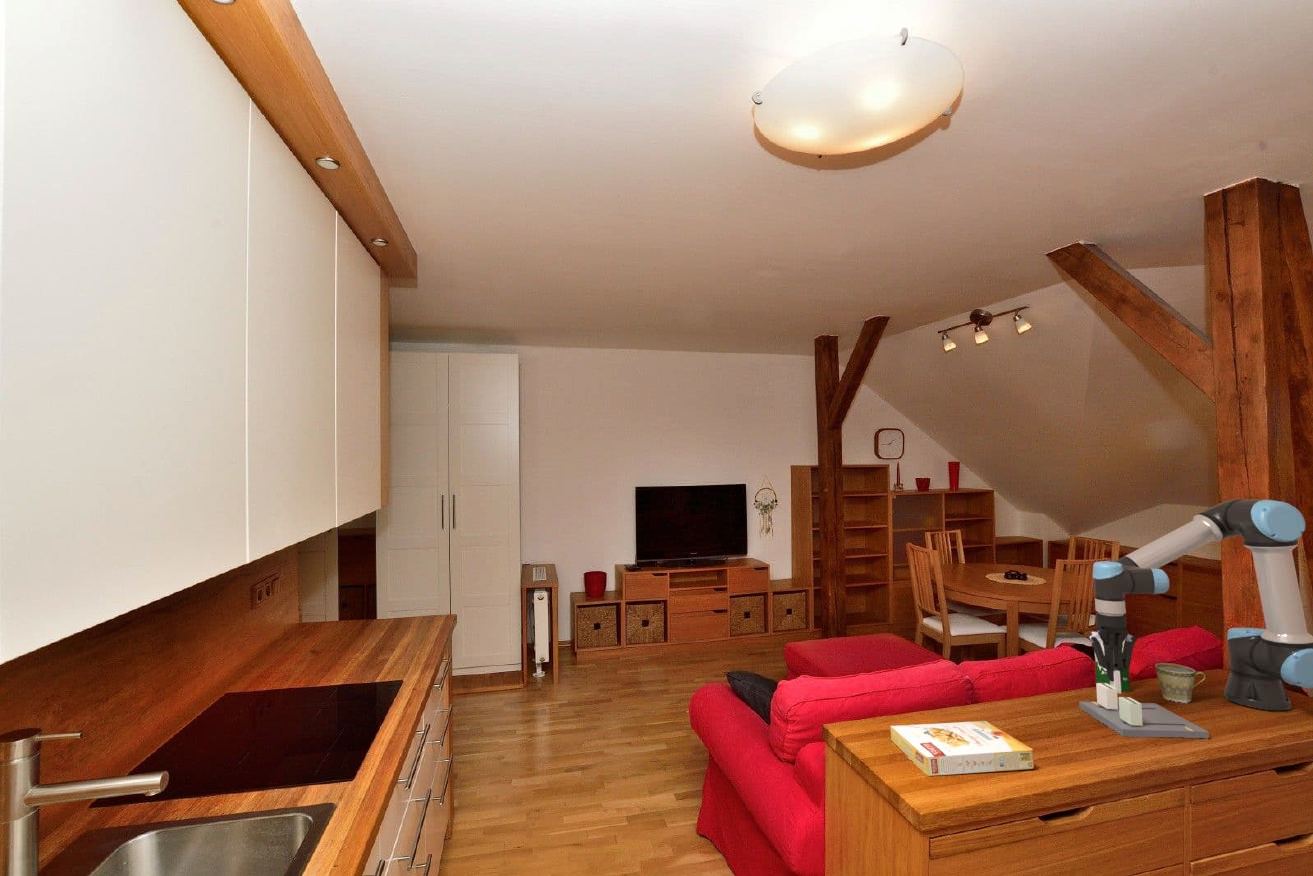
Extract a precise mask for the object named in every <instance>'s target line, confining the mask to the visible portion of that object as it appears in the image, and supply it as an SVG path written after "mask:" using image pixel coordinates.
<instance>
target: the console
mask: <svg viewBox="0 0 1313 876" xmlns="http://www.w3.org/2000/svg"><path fill="white" fill-rule="evenodd" d="M1140 703H1141V707H1142V724H1143V726H1138V725H1130V724H1128V723H1127V722H1125V721H1123V720H1122V719H1120V714H1119V701H1118V709H1106V708H1105V707H1103V706H1102V705H1100V704H1098V703H1097V701H1081V700H1080V701H1078V704H1079V706H1078V707H1079V709H1080V708H1081V710H1082V711H1083V710H1084V712H1085V713H1086V712H1087V713H1086V714H1088V715H1089V714H1090V716H1091V717H1092V718H1094V719H1096V720H1097V721H1098V720H1099V721H1098V722H1100V723H1101V724H1103V723H1104V724H1105V726H1106V725H1107V726H1108V727H1107V726H1106V727H1107V728H1109V729H1110V728H1111V730H1112V731H1113V730H1114V731H1113V732H1115V733H1116V732H1117V733H1116V734H1118V735H1119V734H1120V735H1119V736H1121V737H1125V738H1127V737H1129V738H1150V737H1185V738H1209V739H1210V734H1209V733H1210V732H1209V731H1208V730H1206V729H1204V728H1202V727H1200V726H1198V725H1196V724H1194V723H1193V722H1191V721H1189V720H1188V719H1186V718H1183V717H1182V716H1180V715H1178V714H1176V713H1174V712H1173V711H1170V710H1169V709H1167V708H1166V707H1162V706H1161V705H1159V704H1158V703H1153V702H1140ZM1104 724H1103V725H1104Z"/></svg>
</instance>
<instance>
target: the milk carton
mask: <svg viewBox="0 0 1313 876" xmlns="http://www.w3.org/2000/svg"><path fill="white" fill-rule="evenodd" d="M1095 633H1096V631H1091V636H1092V635H1094V634H1095ZM1099 639H1100V637H1099ZM1099 642H1100V644H1101V647H1102V650H1103V653H1104V646H1103V641H1102V640H1101V639H1100V641H1099ZM1124 642H1125V640H1124V641H1123V647H1124ZM1122 653H1123V648H1122ZM1113 657H1114V656H1113ZM1094 665H1095V684H1096V683H1107V684H1109V685H1110V681H1109V680H1108V679H1107V671H1106V669H1105V668H1103V667H1101V666H1099V663H1098V660H1097V657H1096V654H1095V653H1094ZM1114 669H1115V667H1114ZM1124 670H1125V671H1124V672H1123V681H1121V691H1131V681H1130V679H1131V678H1130V668H1129V669H1124Z"/></svg>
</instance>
